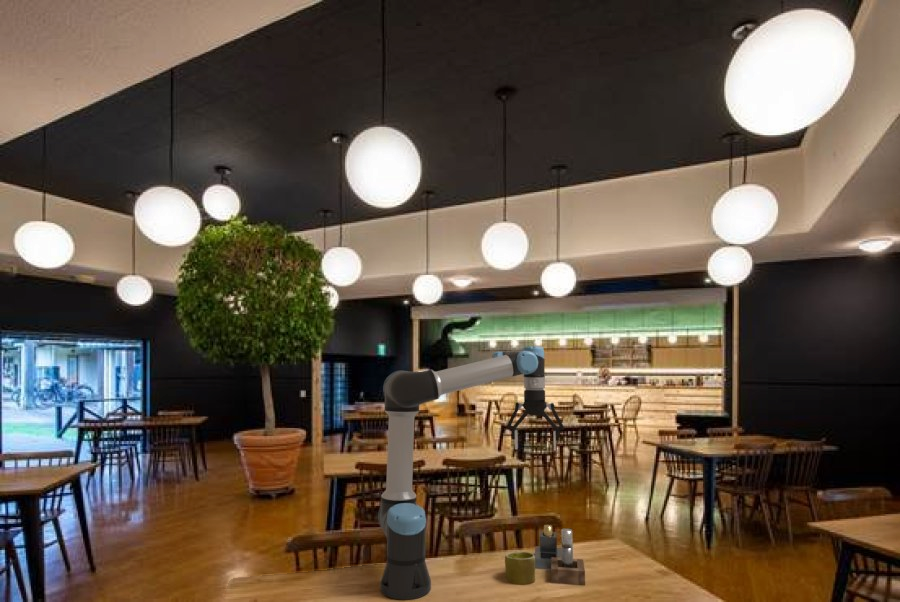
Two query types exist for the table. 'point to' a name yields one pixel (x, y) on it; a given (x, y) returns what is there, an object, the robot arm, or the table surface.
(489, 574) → the table surface
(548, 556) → the block
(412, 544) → the robot arm
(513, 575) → the mug
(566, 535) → the brushed metal rod
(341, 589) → the table surface
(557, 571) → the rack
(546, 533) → the yellow capsule
